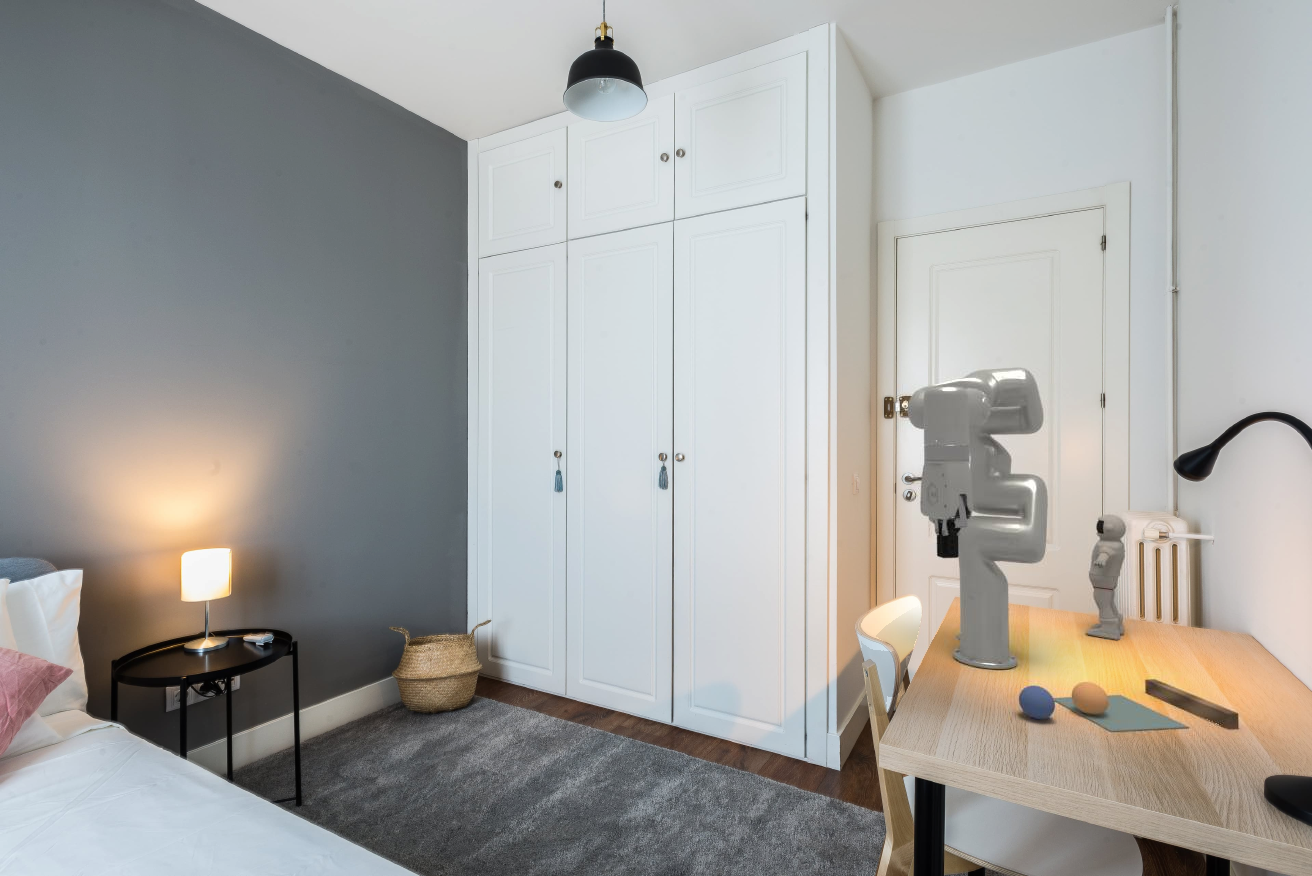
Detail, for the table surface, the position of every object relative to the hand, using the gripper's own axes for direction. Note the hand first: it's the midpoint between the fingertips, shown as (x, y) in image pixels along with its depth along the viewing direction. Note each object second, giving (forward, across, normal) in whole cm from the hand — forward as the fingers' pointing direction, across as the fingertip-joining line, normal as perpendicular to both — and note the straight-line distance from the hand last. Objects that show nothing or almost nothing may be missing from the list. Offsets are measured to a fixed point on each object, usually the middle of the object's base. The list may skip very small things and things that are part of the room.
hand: (947, 557), depth 116 cm
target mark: (+27, +5, +28) cm, 39 cm away
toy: (+27, -39, +64) cm, 80 cm away
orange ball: (+24, +5, +23) cm, 34 cm away
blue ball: (+24, +6, +13) cm, 28 cm away
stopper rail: (+27, +5, +42) cm, 50 cm away
